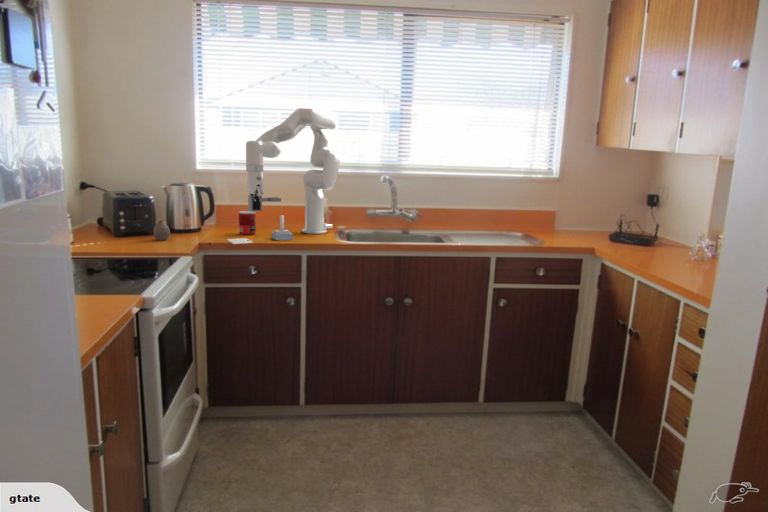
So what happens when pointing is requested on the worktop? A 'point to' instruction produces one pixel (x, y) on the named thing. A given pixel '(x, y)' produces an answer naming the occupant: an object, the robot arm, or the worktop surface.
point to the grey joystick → (282, 232)
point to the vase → (161, 231)
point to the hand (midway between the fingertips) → (255, 209)
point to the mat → (239, 241)
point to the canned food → (247, 223)
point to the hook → (251, 199)
